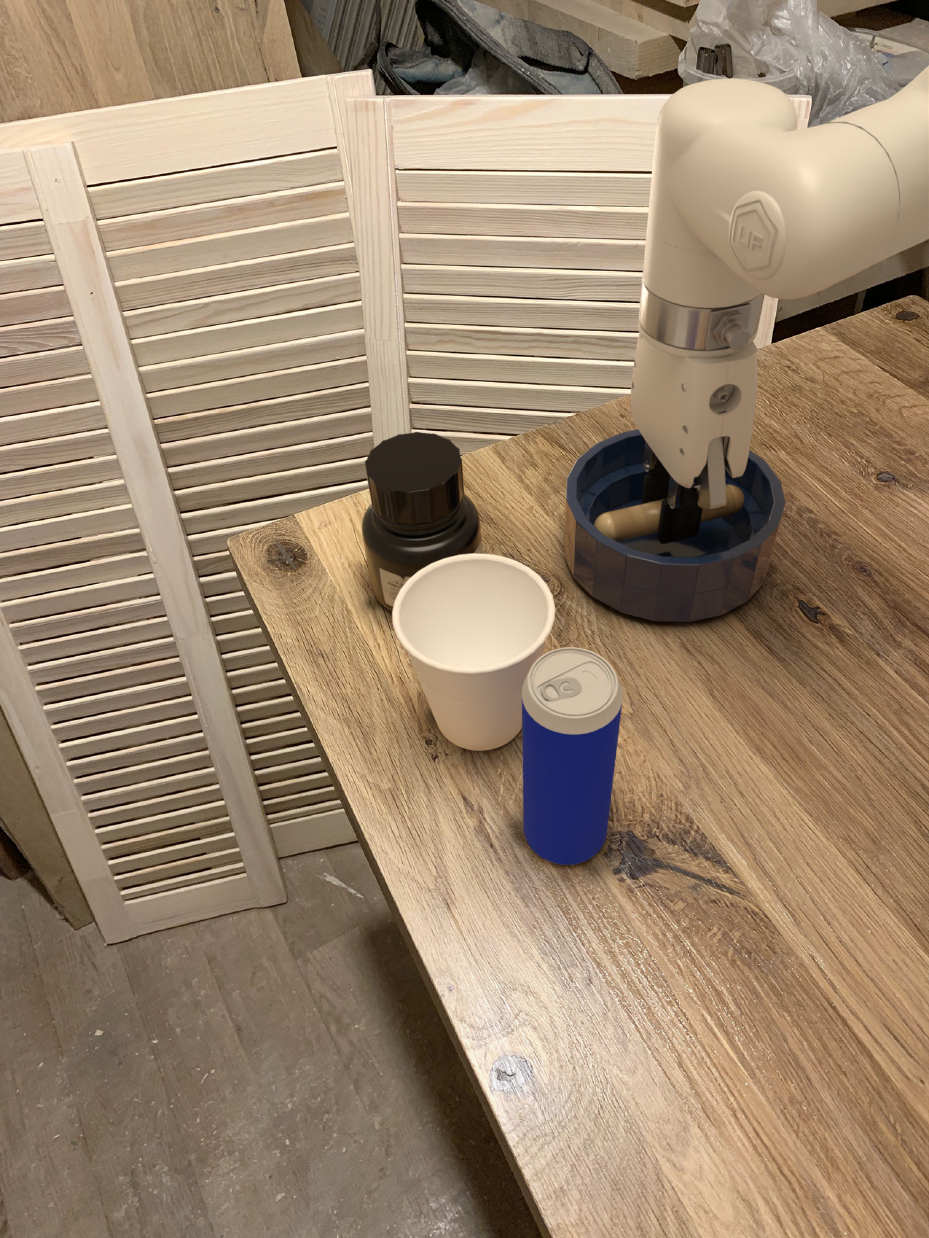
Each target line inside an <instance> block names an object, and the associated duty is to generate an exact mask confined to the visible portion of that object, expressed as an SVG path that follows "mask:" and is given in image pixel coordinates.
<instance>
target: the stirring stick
mask: <svg viewBox="0 0 929 1238" xmlns="http://www.w3.org/2000/svg"><path fill="white" fill-rule="evenodd" d="M666 499H668V498H666ZM662 500H665V499H662ZM662 500H658V501H653V502H649V503H645V504H641V505H636V506H632V507H628V508H623V509H619V510H615V511H610V512H606V513H603V514H601V515H600V516H599V517H598V518H597V519H596V520H595V523H594V526H595V527H596V528H597V529H598V530H599V531H600V532H601V533H602V534H603V535H605V536H607V537H609V538H611V539H613V540H615V541H617V542H621V541H625V540H629V539H634V538H638V537H642V536H646V535H650V534H655V533H658V527H659V519H660V511H661V504H662ZM726 500H727V504H726V507H725V508H720V509H716V510H712V511H706V510H705V509H703V511H702V516H701V522H705V521H709V520H713V519H718V518H722V517H726V516H730V515H733V514H736V513H737V512H738V511H740V510H741V508H742V506H743V504H744V495H743V493H742V491H741V490H740V489H739V488H738V487H736V486H734V485H726ZM701 522H700V523H701Z"/></svg>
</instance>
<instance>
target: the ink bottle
mask: <svg viewBox="0 0 929 1238" xmlns="http://www.w3.org/2000/svg"><path fill="white" fill-rule="evenodd" d="M364 466H365V473H366V480H367V487H368V491H369V499H370V505H369V506H368V507H367V509H366V510H365V513H364V514H363V518H362V522H361V536H362V541H363V546H364V552H365V558H366V563H367V568H368V574H369V579H370V583H371V584H370V585H371V588H372V592H373V594H374V596H375V598H376V600H377V601H378V602H379V603H380V604H381V605H382V606H383V607H384V608H385V609H387V611H388V612H391V613H392V611H393V607H394V602H395V599H396V597H397V595H398V593H399V591H400V589H401V588H402V587H403V586H404V585H405V583H406V582H407V581H408V580H409V579H410V578H411V577H412V576H413V575H415V574H416V573H417V572H418V571H419V570H421V569H423V568H425V567H426V566H428V565H430V564H432V563H434V562H437V561H439V560H442V559H444V558H448V557H452V556H457V555H463V554H473V553H475V554H484V551H483V550H484V548H483V532H482V527H481V518H480V513H479V511H478V508H477V507H476V505H475V503H474V502H473V501H472V499H471V498H470V497H469V496H468V495H467V494H465V484H464V483H465V482H464V469H463V468H464V467H463V458H462V456H461V450H460V448H459V447H458V446H456V445H455V444H454V442H452V440H451V439H449V438H446V437H444V436H441V435H439V434H437V433H434V432H432V433H431V432H420V431H414V432H408V433H407V432H406V433H398V434H396V435H393V436H392V437H390V438H387V439H384V440H382V441H380V443H379V444H377V445H376V446H374V447H373V448H372V449H371V450H370V451H369V454H368V455H367V458H366V459H365V460H364Z"/></svg>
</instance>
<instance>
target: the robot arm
mask: <svg viewBox="0 0 929 1238" xmlns="http://www.w3.org/2000/svg"><path fill="white" fill-rule="evenodd" d="M654 136H655V137H654V147H653V157H652V166H651V167H652V168H651V179H650V180H651V181H650V188H649V189H650V192H649V201H648V212H647V213H648V214H647V223H646V233H645V243H644V256H643V269H642V277H641V287H640V296H639V297H640V298H639V310H638V320H637V328H638V337H637V341H636V343H637V344H636V347H635V349H636V350H635V354H634V361H633V369H632V377H631V384H630V389H631V390H630V405H629V406H630V414H631V415H630V416H631V418H632V421H633V423H634V425H635V426H636V428H637V429H638V430H639V431H640V433H641V434H642V436H643V439H644V440H645V450H644V458H643V465H644V469H645V471H646V472H647V473H649V472H650V474H647V475H645V477H644V486H643V495H642V504H645V503H649V502H653V501H658V500H662V499H665V500H662V504H661V511H660V519H659V527H658V534H657V539H658V540H659V542H660V543H661V544H666V543H670V542H674V541H678V540H683V539H687V538H691V537H694V536H696V535H697V534H698V533H699V528H700V522H701V516H702V511H703V509H705V510H706V511H712V510H716V509H720V508H725V507H726V504H727V500H726V483H725V469H726V470H727V472H728V473H729V474H730V476H731V477H732V478H735V477H740V476H742V475H743V473H744V471H745V468H746V465H747V460H748V455H749V449H750V448H751V443H752V436H753V431H754V429H753V428H754V421H755V414H756V413H755V412H756V404H757V393H758V376H759V375H758V374H759V373H758V372H759V371H758V369H759V363H758V361H759V360H758V359H759V358H758V347H757V345H756V344H755V342H754V341H755V339H756V337H757V335H758V330H759V327H760V321H761V316H762V311H763V306H764V301H765V296H767V297H768V298H773V299H777V300H796V299H797V300H798V299H802V298H806V297H809V296H811V295H814V294H817V293H820V292H821V291H824V290H826V289H828V288H830V287H832V286H834V285H836V284H838V283H840V282H842V281H844V280H846V279H848V278H851V277H853V276H855V275H857V274H859V273H861V272H863V271H865V270H866V269H868V268H870V267H872V266H874V265H876V264H878V263H880V262H882V261H885V260H887V259H889V258H891V257H893V256H895V255H897V254H899V253H902V252H903V251H906V250H908V249H911V248H913V247H915V246H917V245H919V244H921V243H923V242H925V241H928V240H929V65H927V66H926V67H925V68H924V69H923V70H922V71H921V72H920V73H919V74H918V75H916V77H915V78H914V79H912V80H911V81H910V82H909V83H907V84H906V85H905V86H903V88H901V89H900V90H899V91H897V92H896V93H895V94H893V95H892V96H890V97H889V98H887V99H884V100H882V101H879V102H875V103H873V104H870V105H867V106H863V107H862V108H859V109H857V110H855V111H851V112H850V113H847V114H845V115H842V116H840V117H837V118H835V119H832V120H829V121H827V122H824V123H822V124H818V125H813V126H810V127H804V128H801V129H798V115H797V110H796V107H795V105H794V102H793V100H792V99H791V98H790V96H788V95H787V94H786V93H785V92H784V91H783V90H782V89H780V88H778V87H776V86H773V85H771V84H768V83H764V82H760V81H757V80H752V79H744V78H715V79H708V80H703V81H698V82H695V83H691V84H688V85H686V86H683V87H682V88H680V89H678V90H677V91H676V92H674V93H672V94H671V95H670V96H669V97H668V99H667V100H666V101H665V103H664V104H663V105H662V108H661V110H660V111H659V114H658V117H657V124H656V127H655V135H654ZM750 450H751V449H750ZM696 478H697V483H696V486H692V485H693V484H694V479H696ZM684 487H686V488H685V489H684ZM666 498H668V499H666Z"/></svg>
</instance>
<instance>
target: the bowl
mask: <svg viewBox="0 0 929 1238" xmlns="http://www.w3.org/2000/svg"><path fill="white" fill-rule="evenodd" d="M644 450H645V440H644V439H643V436H642V434H641V433H640V431H639V430H638V428H637V429H633V430H627V431H622V432H619V433H618V434H614V435H613V436H610V437H607V438H605V439H603V440H601V441H598V442H597V443H595V444H593V445H592V446H591V447H590V448H588V450H586V451H585V452H584V453H583V454H581V455H580V456H579V457H578V458H577V459H576V460H575V462H574V464H573V466H572V468H571V470H570V472H569V473H568V475H567V477H566V481H565V482H566V484H565V509H564V510H565V514H564V515H565V516H564V543H563V545H564V546H563V556H564V559H565V561H566V563H567V565H568V568H569V570H570V572H571V575H572V577H573V579H574V580H575V581H576V582H577V583H578V584H579V585H580V586H581V587H582V588H583V589H584V590H585V591H586V592H587V593H588V594H589V595H590V596H591V597H593V598H594V599H595V600H597V601H599V602H601V603H602V604H605V605H607V606H609V607H610V608H612V609H614V610H616V611H617V612H620V613H622V614H625V615H629V616H632V617H637V618H641V619H645V620H648V621H651V622H672V623H673V622H674V623H675V622H676V623H690V622H691V623H692V622H695V621H700V620H701V621H702V620H705V619H710V618H714V617H719V616H722V615H725V614H727V613H728V612H730V611H732V610H734V609H736V608H738V607H739V606H742V605H743V604H745V603H747V602H748V601H749V600H750V599H751V598H752V597H753V596H754V595H755V594H756V592H758V590H759V589H760V588H761V587H762V586H763V585H764V583H765V581H766V578H767V575H768V572H769V569H770V565H771V562H772V558H773V554H774V550H775V546H776V542H777V539H778V535H779V530H780V527H781V523H782V519H783V515H784V512H785V508H786V499H785V494H784V489H783V485H782V481H781V479H779V477H778V475H777V474H776V473H775V471H774V470H773V469H772V468H771V466H770V464H768V462H767V461H766V459H764V458H762V457H761V456H759V455H758V454H757V453H755V452H754V451H752V450H751V449H749V455H748V460H747V465H746V468H745V471H744V473H743V475H742V476H740V477H735V478H732V477H731V476H730V474H729V473H728V472H727V470H726V469H725V483H726V485H734V486H736V487H738V488H739V489H740V490H741V491H742V493H743V495H744V504H743V506H742V508H741V510H740V511H738V512H737V513H736V514H733V515H730V516H726V517H722V518H718V519H713V520H709V521H705V522H701V523H700V528H699V533H698V534H697V535H696V536H694V537H691V538H687V539H683V540H678V541H674V542H670V543H666V544H661V543H660V542H659V540H658V539H657V534H658V533H655V534H650V535H646V536H642V537H638V538H634V539H629V540H625V541H621V542H617V541H615V540H613V539H611V538H609V537H607V536H605V535H603V534H602V533H601V532H600V531H599V530H598V529H597V528H596V527H595V526H594V523H595V520H596V519H597V518H598V517H599V516H600V515H601V514H603V513H606V512H610V511H615V510H619V509H623V508H628V507H632V506H636V505H641V504H642V495H643V486H644V477H645V475H647V474H650V472H649V473H647V472H646V471H645V469H644V465H643V458H644ZM696 483H697V478H696V479H694V484H693V485H692V486H696ZM685 488H686V487H684V489H685Z"/></svg>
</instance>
